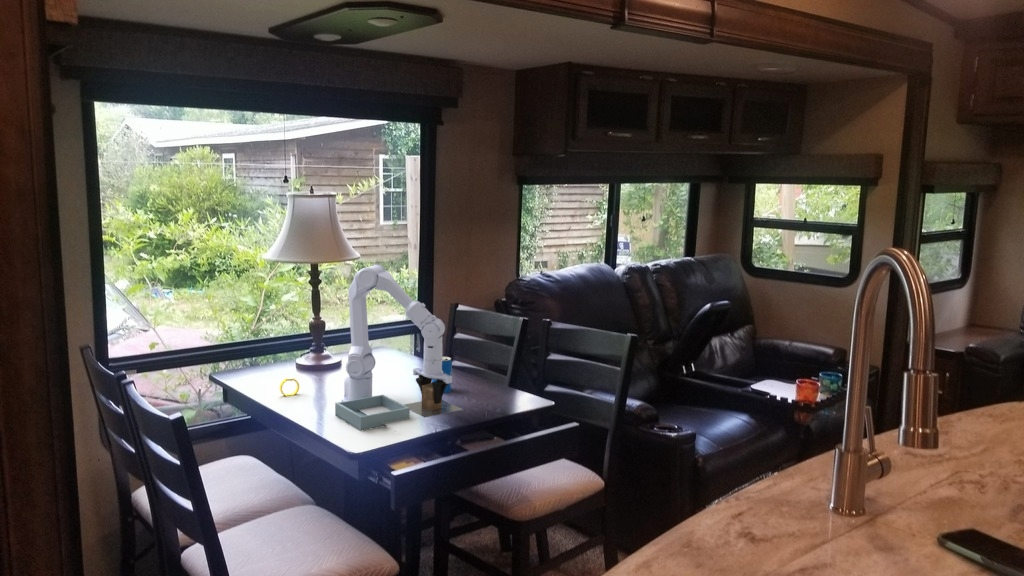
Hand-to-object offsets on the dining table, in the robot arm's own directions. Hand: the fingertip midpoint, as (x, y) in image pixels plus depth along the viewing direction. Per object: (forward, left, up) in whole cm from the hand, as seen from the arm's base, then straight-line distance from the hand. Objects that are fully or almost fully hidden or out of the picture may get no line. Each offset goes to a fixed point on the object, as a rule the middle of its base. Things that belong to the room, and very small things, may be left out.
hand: (431, 401), depth 228 cm
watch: (-38, -30, -3) cm, 49 cm away
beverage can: (-14, +13, -3) cm, 19 cm away
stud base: (0, 0, -3) cm, 3 cm away
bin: (-3, -19, -3) cm, 19 cm away
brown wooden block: (0, 0, -2) cm, 2 cm away
